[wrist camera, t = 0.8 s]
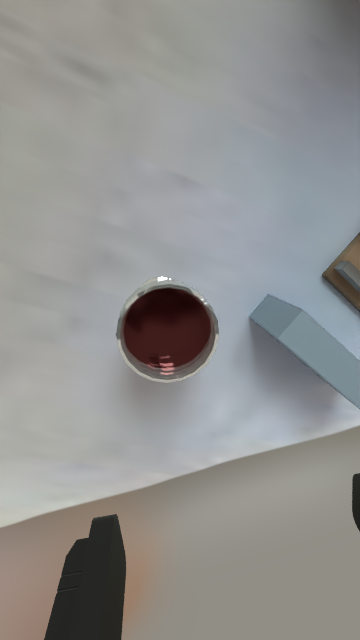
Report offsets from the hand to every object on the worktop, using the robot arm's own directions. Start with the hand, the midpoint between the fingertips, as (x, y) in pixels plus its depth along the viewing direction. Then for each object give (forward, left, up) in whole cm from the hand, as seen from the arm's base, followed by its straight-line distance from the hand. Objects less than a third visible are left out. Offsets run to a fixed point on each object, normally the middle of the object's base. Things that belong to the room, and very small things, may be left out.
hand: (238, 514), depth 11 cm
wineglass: (-1, -3, -24) cm, 24 cm away
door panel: (-7, +11, -24) cm, 27 cm away
